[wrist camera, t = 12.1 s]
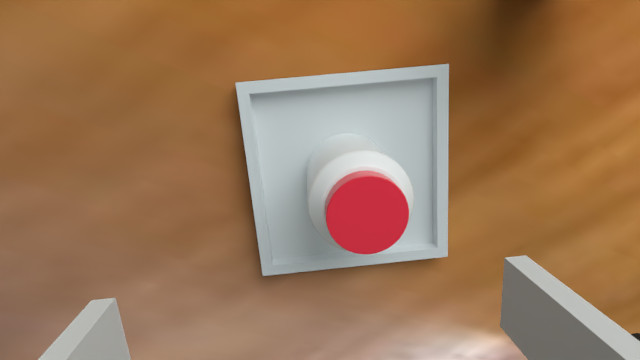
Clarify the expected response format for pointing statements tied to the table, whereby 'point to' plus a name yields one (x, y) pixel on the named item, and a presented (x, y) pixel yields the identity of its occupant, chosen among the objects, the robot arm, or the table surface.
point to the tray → (337, 118)
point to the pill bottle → (357, 194)
